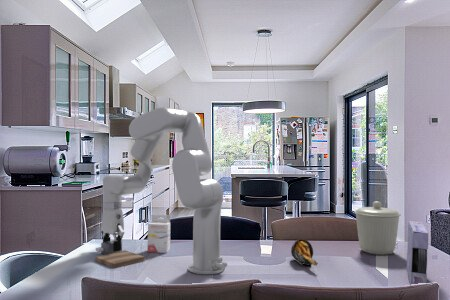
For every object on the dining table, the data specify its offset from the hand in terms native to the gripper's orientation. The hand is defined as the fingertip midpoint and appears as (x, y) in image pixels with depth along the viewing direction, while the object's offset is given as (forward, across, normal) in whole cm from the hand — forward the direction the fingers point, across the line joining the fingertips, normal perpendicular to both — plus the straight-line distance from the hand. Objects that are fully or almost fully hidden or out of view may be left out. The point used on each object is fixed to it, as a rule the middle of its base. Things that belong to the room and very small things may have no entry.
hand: (111, 248), depth 159 cm
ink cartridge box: (+2, -13, -14) cm, 19 cm away
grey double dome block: (+1, 0, +1) cm, 2 cm away
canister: (+1, -79, -76) cm, 110 cm away
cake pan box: (+2, -102, -49) cm, 113 cm away
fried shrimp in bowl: (+2, -67, -39) cm, 78 cm away
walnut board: (+1, -14, +5) cm, 15 cm away
